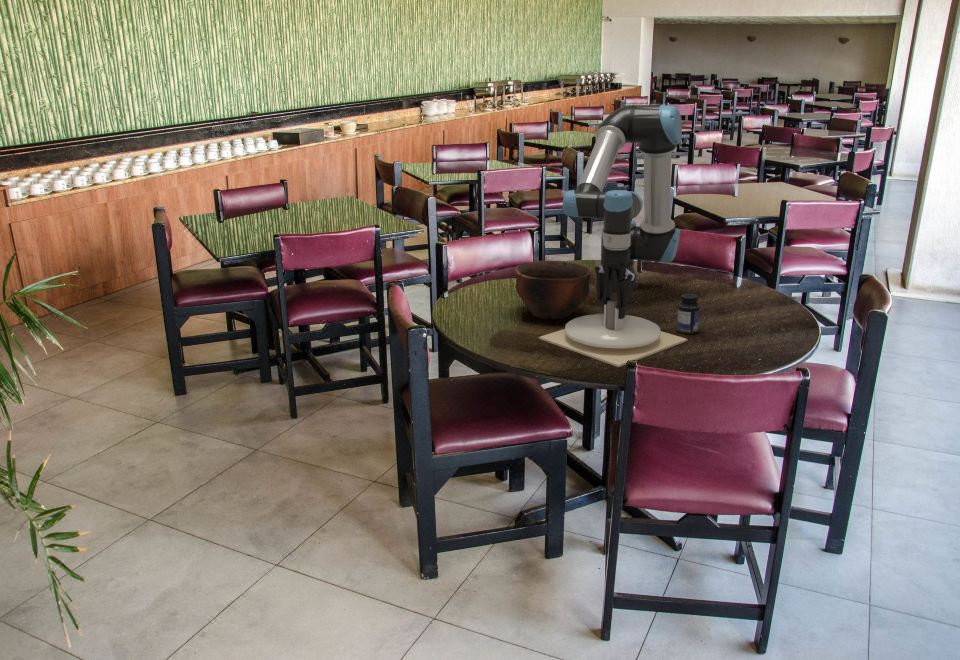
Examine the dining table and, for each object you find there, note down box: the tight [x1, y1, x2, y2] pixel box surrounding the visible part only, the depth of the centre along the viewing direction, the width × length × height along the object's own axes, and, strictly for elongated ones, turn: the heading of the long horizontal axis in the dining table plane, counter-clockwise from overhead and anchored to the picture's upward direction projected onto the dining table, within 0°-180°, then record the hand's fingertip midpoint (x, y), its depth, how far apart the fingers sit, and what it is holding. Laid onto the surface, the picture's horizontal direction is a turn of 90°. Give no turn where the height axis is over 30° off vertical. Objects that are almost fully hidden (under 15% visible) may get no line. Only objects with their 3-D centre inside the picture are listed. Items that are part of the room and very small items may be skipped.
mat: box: [538, 328, 688, 368], centre depth 221 cm, size 30×30×1 cm
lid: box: [564, 299, 661, 349], centre depth 218 cm, size 27×27×9 cm
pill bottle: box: [676, 293, 700, 335], centre depth 225 cm, size 6×6×11 cm
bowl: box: [514, 260, 593, 320], centre depth 242 cm, size 25×25×15 cm
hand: (612, 327), depth 219 cm, fingers closed on lid, 3 cm apart
